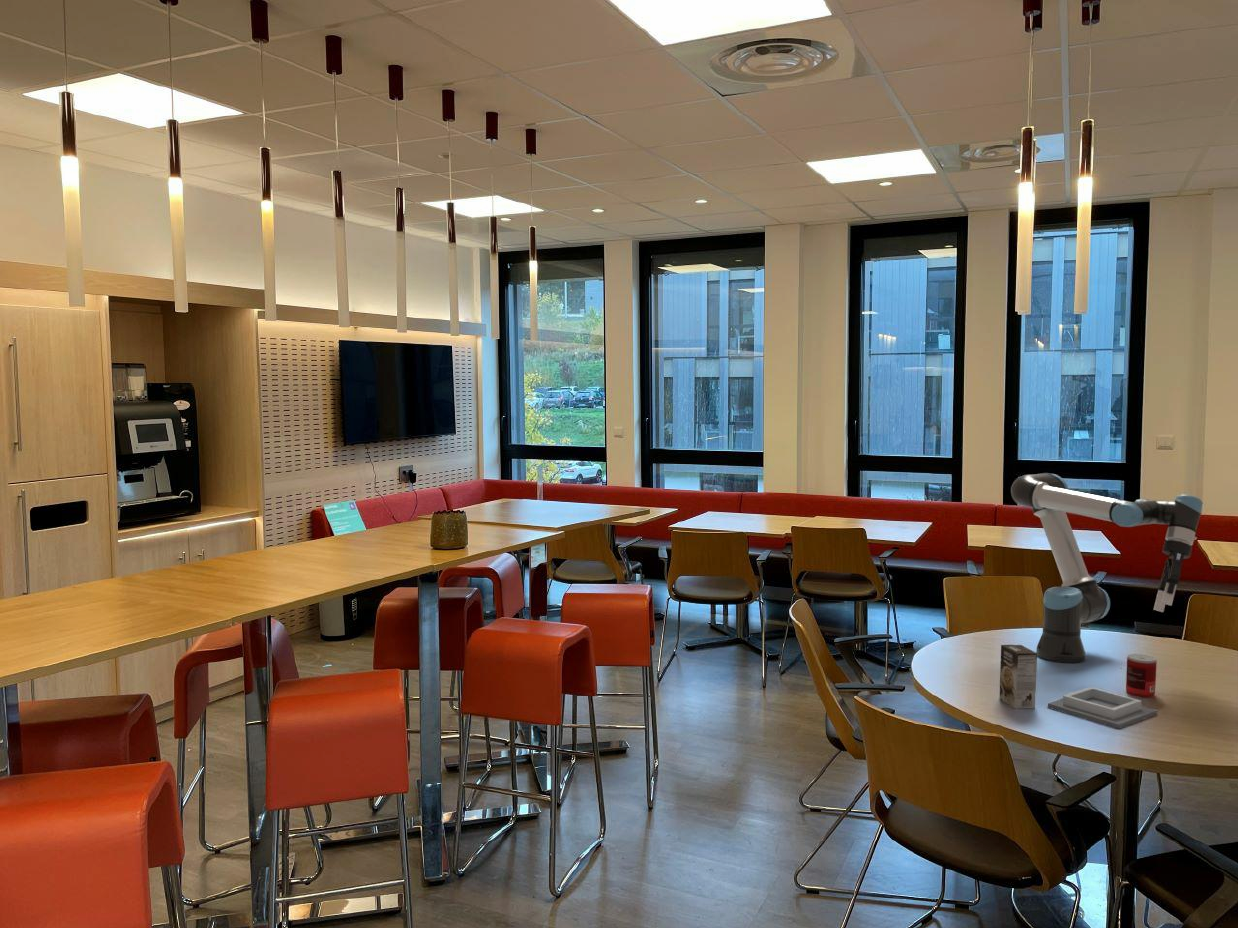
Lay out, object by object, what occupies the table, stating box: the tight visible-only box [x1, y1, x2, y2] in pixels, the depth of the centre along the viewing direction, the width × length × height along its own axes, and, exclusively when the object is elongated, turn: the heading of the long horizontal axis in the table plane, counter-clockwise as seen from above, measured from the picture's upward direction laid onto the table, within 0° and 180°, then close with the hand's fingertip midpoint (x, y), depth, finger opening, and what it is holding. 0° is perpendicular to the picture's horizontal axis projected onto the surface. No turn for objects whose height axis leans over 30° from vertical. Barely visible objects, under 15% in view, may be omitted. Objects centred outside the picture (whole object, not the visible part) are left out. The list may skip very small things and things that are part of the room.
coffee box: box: [999, 644, 1038, 709], centre depth 260 cm, size 9×6×16 cm
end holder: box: [1047, 686, 1158, 730], centre depth 254 cm, size 20×20×4 cm
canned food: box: [1125, 653, 1157, 698], centre depth 270 cm, size 8×8×11 cm
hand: (1162, 607), depth 280 cm, fingers open, 13 cm apart
